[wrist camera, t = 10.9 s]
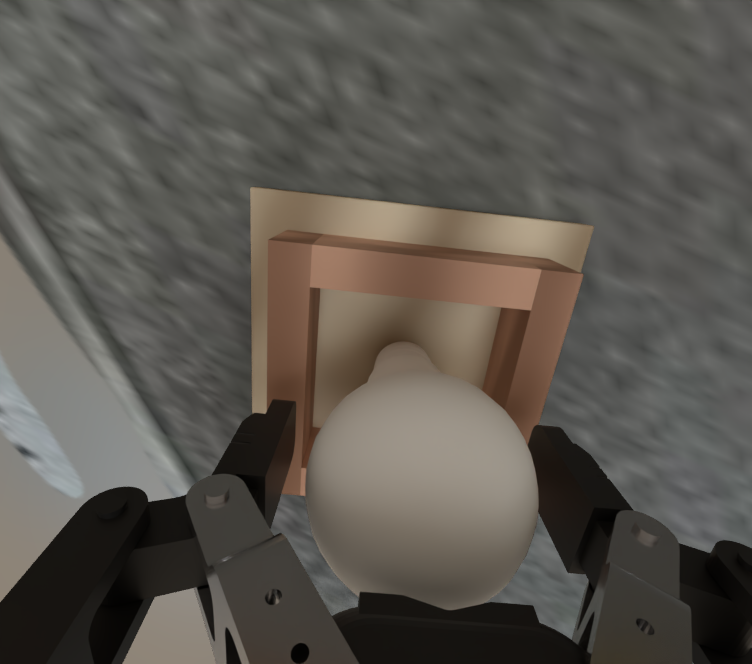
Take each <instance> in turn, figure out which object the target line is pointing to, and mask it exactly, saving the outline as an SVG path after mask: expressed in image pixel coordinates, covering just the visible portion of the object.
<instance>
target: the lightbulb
mask: <svg viewBox="0 0 752 664" xmlns="http://www.w3.org/2000/svg"><path fill="white" fill-rule="evenodd" d="M305 496H306V506H307V512H308V518H309V522H310V526H311V530H312V534H313V537H314V539H315V541H316V543H317V546H318V548H319V550H320V552H321V554H322V555H323V557H324V558H325V560H326V562H327V563H328V565H329V566H330V568H331V569H332V570H333V572H334V573H335V574H336V576H337V577H338V578H339V579H340V580H341V581H342V582H343V583H344V584H345V585H346V586H347V587H348V588H349V589H350V590H351V591H352V592H353V593H355V594H356V595H357V596H358V597H359V594H360V592H372V593H384V594H397V595H404V596H407V597H410V598H413V599H416V600H419V601H422V602H425V603H428V604H431V605H433V606H436V607H439V608H442V609H445V610H456V609H460V608H465V607H470V606H475V605H480V604H483V603H484V602H486V601H488V600H489V599H491V598H492V597H493V596H495V595H496V594H498V593H499V592H500V591H501V590H502V589H503V588H504V587H505V586H506V585H507V584H508V583H509V582H510V581H511V579H512V578H513V576H514V574H515V573H516V571H517V570H518V568H519V566H520V565H521V563H522V562H523V560H524V558H525V557H526V555H527V552H528V550H529V547H530V544H531V541H532V538H533V535H534V531H535V528H536V525H537V519H538V508H539V498H538V484H537V478H536V472H535V467H534V463H533V459H532V455H531V453H530V451H529V448H528V446H527V444H526V442H525V439H524V437H523V435H522V434H521V432H520V430H519V429H518V427H517V425H516V424H515V423H514V421H513V420H512V419H511V417H510V416H509V415H508V413H507V412H506V411H505V410H504V409H503V408H502V407H501V406H500V405H499V404H497V403H496V402H495V401H494V400H493V399H491V398H490V397H489V396H488V395H487V394H485V393H484V392H483V391H482V390H481V389H479V388H478V387H476V386H474V385H472V384H470V383H468V382H466V381H465V380H463V379H460V378H457V377H454V376H450V375H447V374H444V373H441V372H440V371H439V370H438V368H437V367H436V366H435V365H434V364H432V363H431V361H430V359H429V357H428V355H427V353H426V352H425V351H424V350H423V349H422V348H421V347H420V346H418V345H416V344H414V343H411V342H405V341H402V342H395V343H392V344H390V345H388V346H386V347H385V348H383V349H382V350H381V352H380V353H379V354H378V356H377V358H376V361H375V365H374V370H373V372H372V373H371V375H370V376H369V379H368V382H367V383H365V384H363V385H361V386H360V387H359V388H357V389H356V390H354V391H353V392H351V393H350V394H349V395H347V396H346V397H345V398H344V399H343V400H342V401H341V402H340V403H339V404H338V405H337V406H336V407H335V408H334V409H333V411H332V412H331V414H330V415H329V417H328V418H327V420H326V421H325V423H324V424H323V426H322V428H321V429H320V431H319V433H318V434H317V436H316V438H315V441H314V444H313V447H312V450H311V453H310V456H309V460H308V464H307V468H306V482H305Z"/></svg>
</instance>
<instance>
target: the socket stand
mask: <svg viewBox="0 0 752 664" xmlns="http://www.w3.org/2000/svg"><path fill="white" fill-rule="evenodd" d="M250 193H251V320H252V414H253V413H263V414H266V412H267V410H268V408H269V406H270V404H271V401H272V400H273V399H279V400H289V401H296V430H295V447H294V453H293V458H292V461H291V465H290V468H289V471H288V474H287V477H286V481H285V484H284V487H283V490H282V493H281V494H291V495H302V496H305V482H306V468H307V464H308V460H309V456H310V453H311V450H312V447H313V444H314V441H315V438H316V436H317V434H318V433H319V431H320V429H321V428H322V426H323V424H324V423H325V421H326V420H327V418H328V417H329V415H330V414H331V412H332V411H333V409H334V408H335V407H336V406H337V405H338V404H339V403H340V402H341V401H342V400H343V399H344V398H345V397H346V396H347V395H349V394H350V393H351V392H353V391H354V390H356V389H357V388H359V387H360V386H361V385H363V384H365V383H367V382H368V379H369V376H370V375H371V373H372V372H373V370H374V365H375V361H376V358H377V356H378V354H379V353H380V352H381V350H382V349H383V348H385V347H386V346H388V345H390V344H392V343H395V342H402V341H405V342H411V343H414V344H416V345H418V346H420V347H421V348H422V349H423V350H424V351H425V352H426V353H427V355H428V357H429V359H430V361H431V363H432V364H434V365H435V366H436V367H437V368H438V370H439V371H440V372H441V373H444V374H447V375H450V376H454V377H457V378H460V379H463V380H465V381H466V382H468V383H470V384H472V385H474V386H476V387H478V388H479V389H481V390H482V391H483V392H484V393H485V394H487V395H488V396H489V397H490V398H491V399H493V400H494V401H495V402H496V403H497V404H499V405H500V406H501V407H502V408H503V409H504V410H505V411H506V412H507V413H508V415H509V416H510V417H511V419H512V420H513V421H514V423H515V424H516V425H517V427H518V429H519V430H520V432H521V434H522V435H523V437H524V439H525V442H526V444H527V446H528V442H529V439H530V436H531V432H532V429H533V428H534V426H536V425H538V424H539V420H540V417H541V414H542V411H543V407H544V404H545V401H546V397H547V394H548V391H549V387H550V384H551V381H552V378H553V374H554V371H555V368H556V364H557V361H558V358H559V354H560V351H561V348H562V345H563V341H564V338H565V335H566V331H567V328H568V325H569V321H570V318H571V315H572V312H573V308H574V305H575V302H576V298H577V295H578V292H579V288H580V285H581V282H582V278H583V275H584V274H582V273H580V272H581V269H582V266H583V262H584V259H585V256H586V252H587V249H588V246H589V242H590V239H591V236H592V232H593V229H594V226H591V225H586V224H580V223H571V222H562V221H554V220H545V219H536V218H527V217H518V216H509V215H501V214H492V213H483V212H474V211H465V210H457V209H448V208H439V207H430V206H421V205H413V204H404V203H395V202H386V201H377V200H369V199H360V198H351V197H342V196H333V195H324V194H316V193H307V192H298V191H289V190H280V189H272V188H263V187H250Z"/></svg>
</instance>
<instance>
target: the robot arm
mask: <svg viewBox="0 0 752 664" xmlns="http://www.w3.org/2000/svg"><path fill="white" fill-rule="evenodd" d="M295 430H296V401H289V400H279V399H273V400H272V401H271V404H270V406H269V408H268V410H267V412H266V414H263V413H253V414H252V415H250V416H249V417H248V418H246V419H245V420H244V421H242V423H241V425H240V427H239V428H238V430H237V432H236V434H235V435H234V437H233V439H232V441H231V443H230V444H229V446H228V448H227V449H226V451H225V453H224V455H223V456H222V458H221V460H220V462H219V463H218V465H217V467H216V469H215V470H214V472H213V474H212V476H208V477H206V478H204V479H202V480H200V481H198V482H197V483H195V484H194V485H193V486H192V487H191V488H190V490H189V491H188V493H187V495H184V496H181V497H176V498H171V499H165V500H159V501H152V502H148V498H147V495H146V494H145V492H144V491H142V490H141V489H139V488H135V487H118V488H113V489H110V490H107V491H104V492H102V493H100V494H98V495H96V496H94V497H93V498H91V499H89V500H88V501H87V502H86V503H85V504H83V505H82V506H81V507H80V509H79V510H78V511H77V512H76V513H75V515H74V516H73V517H72V518H71V519H70V520H69V522H68V523H67V524H66V525H65V526H64V528H63V529H62V530H61V531H60V532H59V534H58V535H57V536H56V537H55V538H54V539H53V541H52V542H51V543H50V544H49V546H48V547H47V548H46V549H45V550H44V551H43V552H42V554H41V555H40V556H39V557H38V559H37V560H36V561H35V562H34V563H33V564H32V566H31V567H30V568H29V569H28V571H26V573H25V574H24V575H23V576H22V577H21V579H20V580H19V581H18V582H17V583H16V585H15V586H14V587H13V588H12V589H11V591H10V592H9V593H8V594H7V595H6V596H5V597H4V599H3V600H2V601H1V602H0V664H122V663H123V661H124V659H125V657H126V655H127V653H128V651H129V649H130V647H131V645H132V643H133V641H134V639H135V636H136V634H137V632H138V630H139V628H140V626H141V624H142V622H143V620H144V618H145V616H146V614H147V612H148V609H149V608H150V606H151V603H152V601H153V599H154V597H156V596H160V595H165V594H169V593H173V592H177V591H182V590H186V589H190V588H194V590H195V594H196V597H197V600H198V604H199V607H200V610H201V614H202V617H203V620H204V624H205V627H206V630H207V634H208V637H209V640H210V644H211V647H212V650H213V654H214V658H215V663H216V664H692V662H693V663H694V664H752V548H749V547H747V546H745V545H742V544H740V543H737V542H733V541H726V540H723V541H719V542H717V543H716V544H715V546H714V548H713V550H712V551H711V553H707V552H704V551H701V550H698V549H695V548H692V547H689V546H686V545H683V544H680V543H678V540H677V539H676V537H675V536H674V535H673V533H672V532H671V531H670V530H669V529H668V528H667V527H665V526H664V525H663V524H662V523H660V522H659V521H657V520H656V519H654V518H652V517H650V516H648V515H646V514H644V513H641V512H637V511H634V510H633V509H632V508H631V506H630V505H629V504H628V503H627V501H626V500H625V499H624V498H623V496H622V495H621V494H620V492H619V491H618V490H617V489H616V487H615V486H614V485H613V483H612V482H611V481H610V480H609V479H607V476H606V474H605V473H604V472H603V471H602V469H600V468H599V465H598V464H597V463H596V462H595V460H594V459H593V458H592V456H591V455H590V454H589V453H587V452H586V451H585V450H583V449H582V448H581V447H579V446H578V445H577V444H573V443H572V442H571V440H570V439H569V438H568V436H567V435H566V434H565V432H564V431H563V430H562V429H561V428H560V427H553V426H543V425H536V426H534V428H533V429H532V432H531V436H530V439H529V442H528V448H529V451H530V453H531V455H532V459H533V463H534V467H535V472H536V478H537V484H538V498H539V508H538V512H539V514H540V516H541V518H542V520H543V522H544V524H545V527H546V529H547V531H548V533H549V535H550V537H551V539H552V541H553V543H554V545H555V547H556V549H557V551H558V553H559V555H560V557H561V559H562V562H563V564H564V566H565V568H566V570H567V572H568V573H576V574H586V576H587V578H588V579H589V581H588V583H587V585H586V588H585V590H584V594H583V598H582V602H581V606H580V610H579V614H578V617H577V621H576V625H575V629H574V633H573V637H572V640H571V639H569V638H568V637H566V636H565V635H563V634H561V633H560V632H558V631H556V630H555V629H553V628H550V627H548V626H546V625H544V624H541V623H539V620H538V618H537V615H536V612H535V609H534V607H533V606H532V605H520V604H508V603H495V602H489V603H484V604H480V605H475V606H470V607H465V608H460V609H456V610H445V609H442V608H439V607H436V606H433V605H431V604H428V603H425V602H422V601H419V600H416V599H413V598H410V597H407V596H404V595H397V594H384V593H372V592H360V594H359V601H358V607H356V608H351V609H348V610H345V611H342V612H339V613H337V614H335V615H333V616H331V614H330V612H329V611H328V609H327V607H326V605H325V604H324V602H323V600H322V598H321V597H320V595H319V593H318V591H317V590H316V588H315V586H314V585H313V583H312V581H311V579H310V578H309V576H308V574H307V572H306V571H305V569H304V567H303V565H302V564H301V562H300V560H299V559H298V557H297V555H296V553H295V552H294V550H293V548H292V546H291V545H290V543H289V541H288V540H287V538H286V537H285V536H284V535H283V534H282V533H279V534H277V535H275V536H274V535H273V534H272V532H271V530H270V528H271V525H272V522H273V519H274V516H275V512H276V509H277V506H278V503H279V500H280V497H281V493H282V490H283V487H284V484H285V481H286V477H287V474H288V471H289V468H290V465H291V461H292V458H293V453H294V447H295Z"/></svg>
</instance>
